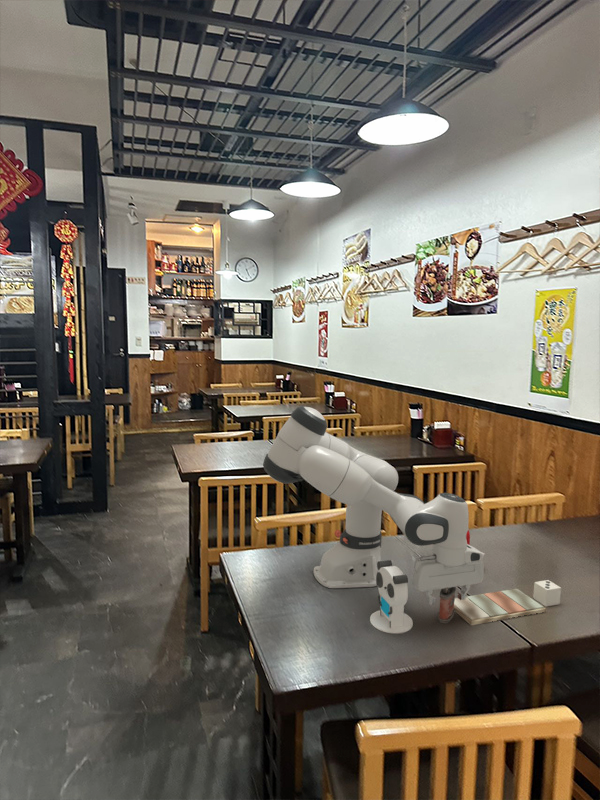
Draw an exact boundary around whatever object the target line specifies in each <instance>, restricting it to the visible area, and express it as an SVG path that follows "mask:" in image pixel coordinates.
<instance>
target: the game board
mask: <svg viewBox="0 0 600 800" xmlns="http://www.w3.org/2000/svg"><path fill="white" fill-rule="evenodd" d="M542 612H544V613H546V612H547V608H546V607H545V606H544V605H543V604H541V603H540V602H538V601H537V600H535V599H534V598H531V597H530V596H529V595H527V594H525V593H524V592H523V591H521V590H519V589H518V588H513V589H507V590H505V589H504V590H500V591H492V592H486V593H479V594H474V595H468V596H467V595H466V599H465V600H460V599H459V598H458V597H455V601H454V613H456V614H458V615H459V616H460V617H461V618H462V619H463V620H464V621H465V622H467V623H468V624H469V625H470V626H475V625H481V624H486V623H493V622H497V620H499V621H503V620H502V619H504V620H509V619H508V618H510V619H513V618H512V617H515V618H519V617H518V616H521V617H525V616H524V615H527V616H531V615H530V614H532V615H537V614H536V613H538V614H542ZM492 621H493V622H492Z"/></svg>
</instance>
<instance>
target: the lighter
mask: <svg viewBox="0 0 600 800" xmlns="http://www.w3.org/2000/svg"><path fill="white" fill-rule="evenodd" d="M456 590H457V587H451V588H448V587H446V588H444V589H440V591H439V614H438V622H440V623H442V624H448V623H449V622H450V621H451V620H453V617H454V615H455V611H454V601H455V598H456V596H455V593H456Z"/></svg>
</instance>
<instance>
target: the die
mask: <svg viewBox="0 0 600 800" xmlns="http://www.w3.org/2000/svg"><path fill="white" fill-rule="evenodd" d="M533 584H534V586H533V597H532V599H533V600H534V601H536V602H537V603H539V604H540V605H542V606H543V607H550V606H558V605H560V604H561V595H562V587H560V586H559V585H557V584H556V583H554V582H553V581H550V580H549V579H547V580H545V579H544V580H539V581H534V583H533Z"/></svg>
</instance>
